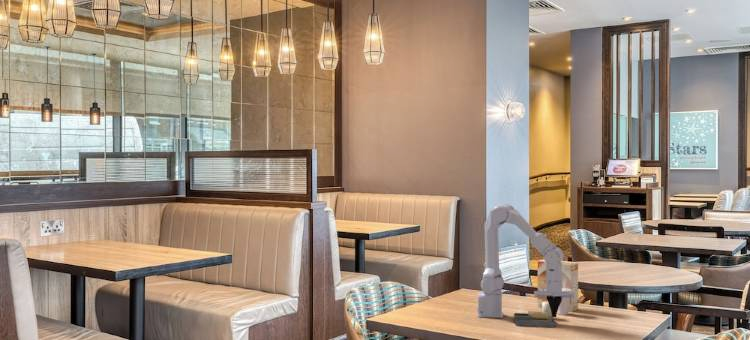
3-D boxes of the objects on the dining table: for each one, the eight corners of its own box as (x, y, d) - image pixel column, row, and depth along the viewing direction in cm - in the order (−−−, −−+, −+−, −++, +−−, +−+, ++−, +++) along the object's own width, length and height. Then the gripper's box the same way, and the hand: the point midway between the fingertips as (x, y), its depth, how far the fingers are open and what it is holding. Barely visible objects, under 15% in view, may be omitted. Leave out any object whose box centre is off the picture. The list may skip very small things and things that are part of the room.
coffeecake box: (537, 307, 271) (537, 260, 271) (544, 304, 277) (544, 258, 276) (571, 312, 262) (571, 264, 261) (578, 309, 267) (578, 262, 267)
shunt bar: (528, 318, 243) (528, 313, 243) (527, 316, 246) (527, 311, 246) (550, 319, 242) (550, 313, 242) (549, 317, 245) (549, 311, 245)
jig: (515, 325, 240) (515, 317, 240) (513, 319, 250) (513, 311, 250) (554, 327, 238) (554, 318, 238) (551, 320, 248) (551, 312, 248)
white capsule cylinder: (542, 319, 251) (542, 303, 251) (541, 316, 255) (541, 301, 254) (553, 319, 250) (553, 303, 250) (552, 317, 254) (552, 301, 254)
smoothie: (572, 316, 255) (572, 280, 255) (555, 315, 257) (555, 279, 256) (570, 312, 262) (571, 277, 261) (554, 311, 263) (554, 277, 263)
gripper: (535, 281, 240) (535, 318, 240) (575, 282, 238) (575, 319, 238) (533, 278, 247) (533, 314, 247) (572, 279, 245) (572, 315, 245)
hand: (553, 316), depth 243 cm, fingers closed
